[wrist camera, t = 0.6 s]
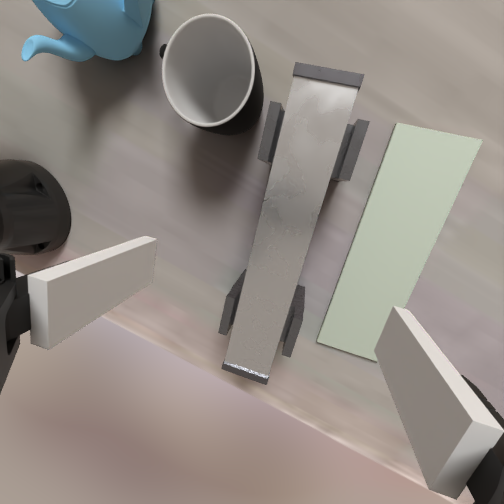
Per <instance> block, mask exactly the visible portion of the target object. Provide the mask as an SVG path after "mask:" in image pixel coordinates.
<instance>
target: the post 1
mask: <svg viewBox="0 0 504 504" xmlns="http://www.w3.org/2000/svg"><path fill="white" fill-rule="evenodd" d="M246 271H247V270H246V269H245V270H244V272H243V273H242V274H241V276H240V277H239V278H238V280H237V281H236V283H235V284H234V285H233V287H232V289H231V291H230V292H229V293H228V295H227V296H226V301H225V305H224V310H223V314H222V319H221V323H220V328H219V332H218V333H220V334H223V335H227V333H228V331H229V329H230V328H231V326H232V325H233V324H234V320H235V316H236V312H237V308H238V304H239V300H240V296H241V291H242V287H243V283H244V279H245V275H246ZM304 299H305V287H303V286H300V285H297V286H296V289H295V292H294V296H293V299H292V302H291V305H290V308H289V312H288V315H287V318H286V321H285V324H284V327H283V331H282V334H281V337H280V340H279V341H282V342H284V344H283V350H282V355H284V356H287V357H291V354H292V351H293V348H294V345H295V342H296V339H297V336H298V333H299V330H300V327H301V324H302V321H303V312H304Z"/></svg>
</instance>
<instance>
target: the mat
mask: <svg viewBox="0 0 504 504" xmlns="http://www.w3.org/2000/svg"><path fill="white" fill-rule="evenodd" d="M482 141H483V140H480V139H475V138H470V137H465V136H460V135H456V134H451V133H446V132H441V131H436V130H431V129H426V128H421V127H416V126H411V125H406V124H401V123H396V124H395V127H394V129H393V132H392V135H391V138H390V140H389V143H388V146H387V149H386V151H385V154H384V157H383V159H382V162H381V165H380V168H379V170H378V173H377V176H376V179H375V181H374V184H373V187H372V190H371V192H370V195H369V198H368V201H367V203H366V206H365V209H364V211H363V214H362V217H361V220H360V222H359V225H358V228H357V231H356V233H355V236H354V239H353V242H352V244H351V247H350V250H349V253H348V255H347V258H346V261H345V263H344V266H343V269H342V272H341V274H340V277H339V280H338V283H337V285H336V288H335V291H334V294H333V296H332V299H331V302H330V305H329V307H328V310H327V313H326V315H325V318H324V321H323V324H322V326H321V329H320V332H319V335H318V337H317V342H319V343H322V344H325V345H328V346H331V347H334V348H337V349H340V350H343V351H346V352H349V353H353V354H356V355H359V356H362V357H365V358H368V359H371V360H374V361H377V362H378V360H377V357H376V355H375V352H374V349H375V347H376V344H377V342H378V340H379V337H380V335H381V333H382V330H383V328H384V326H385V324H386V321H387V319H388V317H389V314H390V312H391V310H392V308H393V306H396V307H399V308H403V309H404V308H405V306H406V303H407V301H408V299H409V297H410V295H411V293H412V291H413V288H414V286H415V284H416V282H417V280H418V278H419V276H420V273H421V271H422V269H423V267H424V265H425V263H426V261H427V259H428V256H429V254H430V252H431V250H432V248H433V246H434V244H435V241H436V239H437V237H438V235H439V233H440V231H441V229H442V226H443V224H444V222H445V220H446V218H447V216H448V214H449V212H450V209H451V207H452V205H453V203H454V201H455V199H456V197H457V194H458V192H459V190H460V188H461V186H462V184H463V182H464V179H465V177H466V175H467V173H468V171H469V169H470V167H471V164H472V162H473V160H474V158H475V156H476V154H477V152H478V150H479V147H480V145H481V143H482Z"/></svg>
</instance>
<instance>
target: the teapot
mask: <svg viewBox="0 0 504 504" xmlns="http://www.w3.org/2000/svg"><path fill="white" fill-rule="evenodd" d="M32 1H33V2H34V3H35V5H36V6H37V7H38V9H39V10H40V11H41V12H42V13H43V15H44V16H45V17H46V18H47V19H48V20H49V21H50V22H51V23H52V24H53V26H54V27H56V28H57V29H58V30H59V31H60V32H61V33H63V34H64V35H63V36H62V37H61V38H60V39H58V40H54V39H51V38H48V37H46V36H42V35H34V36H31V37H30V38H28V39H27V41H26V42H25V44H24V46H23V49H22V60H23V61H28V60H29V59H31V58H32V57H33V56H35V55H36V54H38V53H42V52H44V53H51V54H54V55H57V56H60V57H62V58H65V59H68V60H71V61H77V62H82V61H86V60H89V59H91V58H92V57H93V56H94V55H97V56H100V57H103V58H106V59H110V60H123V59H126V58H128V57H130V56H131V55H138V54H139V53H140V52H141V50H142V40H143V38H144V35H145V33H146V31H147V28H148V25H149V21H150V17H151V11H152V4H153V3H154V1H155V0H32Z"/></svg>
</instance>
